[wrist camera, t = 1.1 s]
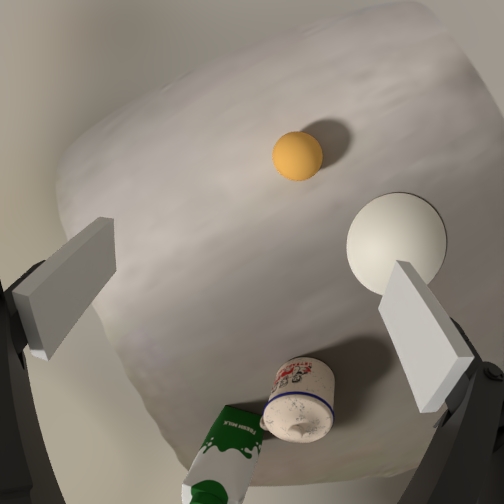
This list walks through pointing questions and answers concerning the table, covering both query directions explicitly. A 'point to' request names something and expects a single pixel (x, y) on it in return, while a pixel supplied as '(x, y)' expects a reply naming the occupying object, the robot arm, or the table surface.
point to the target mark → (395, 239)
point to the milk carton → (225, 460)
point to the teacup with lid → (301, 401)
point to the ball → (297, 156)
